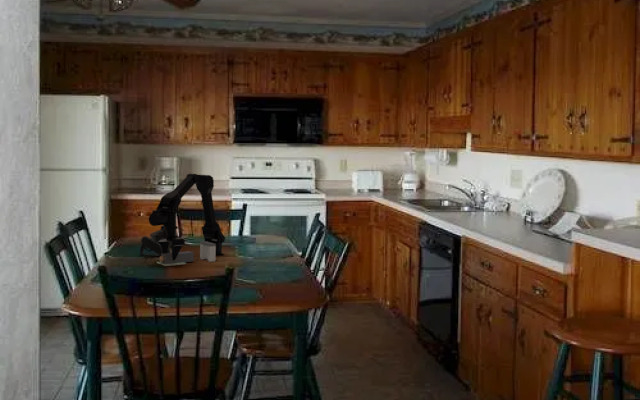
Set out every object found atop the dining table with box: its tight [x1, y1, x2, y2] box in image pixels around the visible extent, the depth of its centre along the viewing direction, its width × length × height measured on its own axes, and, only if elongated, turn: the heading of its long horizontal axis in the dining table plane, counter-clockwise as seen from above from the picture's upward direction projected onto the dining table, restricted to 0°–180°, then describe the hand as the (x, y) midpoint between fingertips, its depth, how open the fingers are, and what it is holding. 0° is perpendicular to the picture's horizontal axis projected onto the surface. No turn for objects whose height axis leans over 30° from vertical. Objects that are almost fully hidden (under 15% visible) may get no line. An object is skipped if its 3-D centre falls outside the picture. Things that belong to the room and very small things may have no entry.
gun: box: [139, 236, 172, 257], centre depth 331 cm, size 3×16×10 cm, turn 79°
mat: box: [155, 261, 187, 267], centre depth 315 cm, size 10×9×1 cm
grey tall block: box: [159, 250, 195, 264], centre depth 316 cm, size 15×4×4 cm, turn 129°
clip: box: [199, 240, 217, 263], centre depth 326 cm, size 3×9×8 cm, turn 39°
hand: (169, 258), depth 314 cm, fingers open, 9 cm apart
